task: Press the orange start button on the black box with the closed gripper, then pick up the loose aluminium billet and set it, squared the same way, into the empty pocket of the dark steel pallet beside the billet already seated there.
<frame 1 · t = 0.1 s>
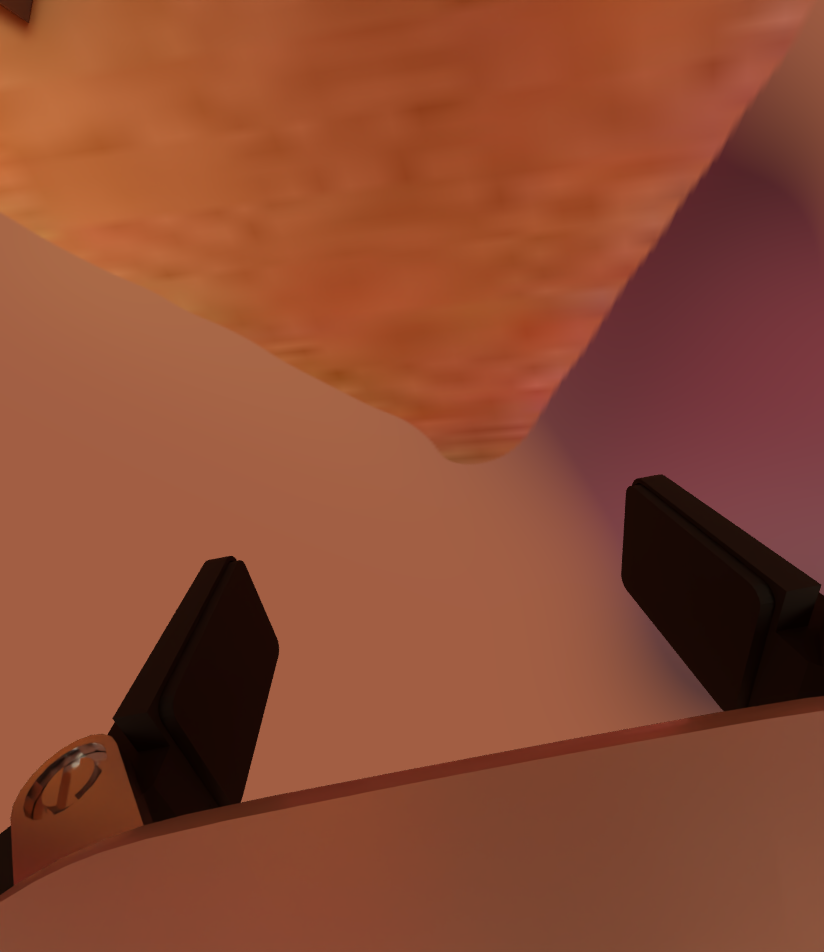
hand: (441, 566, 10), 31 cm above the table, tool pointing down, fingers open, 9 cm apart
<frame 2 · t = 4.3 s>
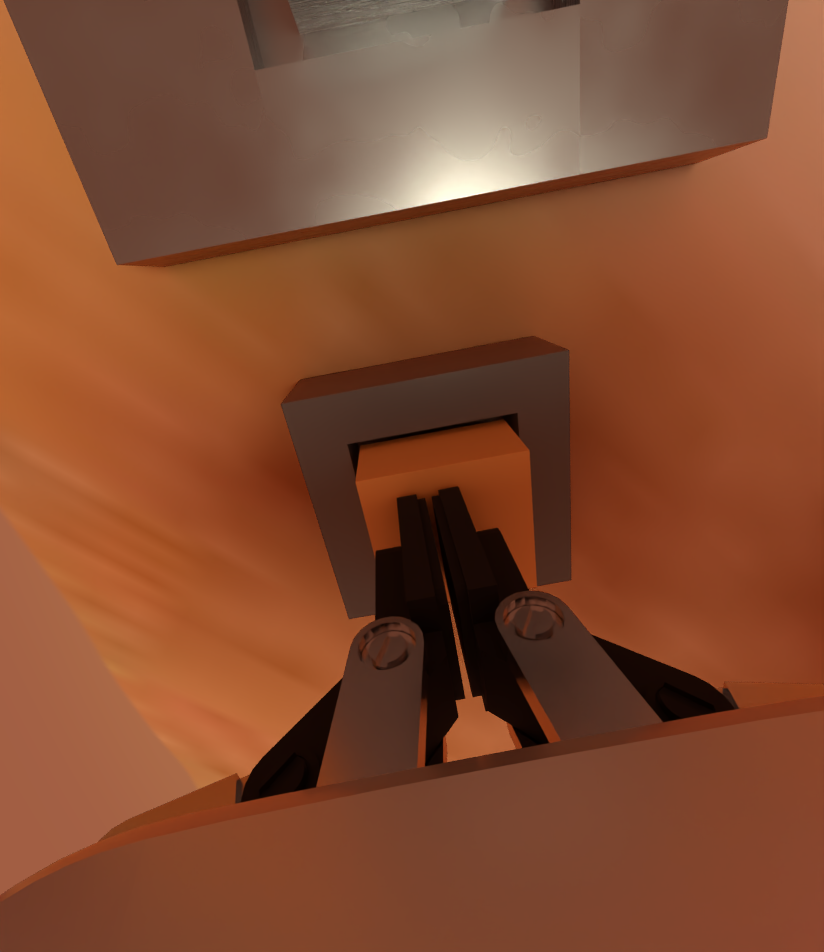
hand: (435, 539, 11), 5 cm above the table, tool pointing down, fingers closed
button housing: (433, 464, 16), on the table
start button: (447, 515, 13), point 4 cm above the table, slide at 0.0 cm, touching gripper
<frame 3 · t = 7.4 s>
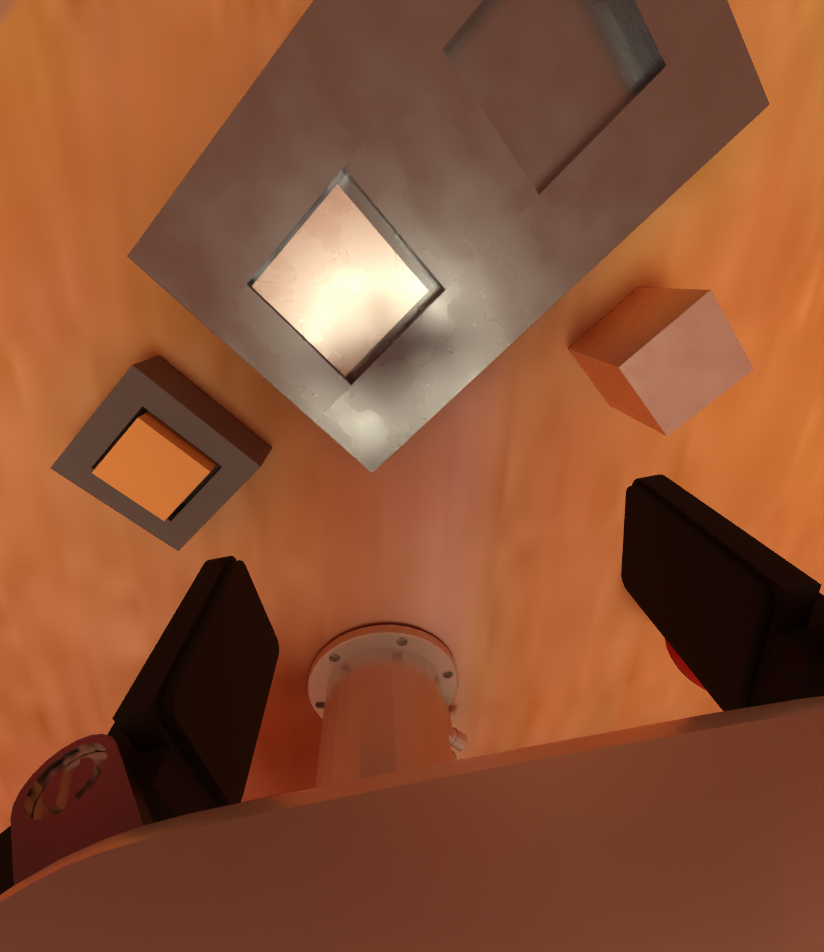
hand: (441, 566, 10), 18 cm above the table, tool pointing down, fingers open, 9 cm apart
button housing: (179, 448, 27), on the table
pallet: (437, 191, 22), on the table
billet: (622, 349, 26), on the table
light bulb: (668, 582, 35), on the table
seated billet: (349, 286, 23), point 1 cm above the table, touching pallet
start button: (162, 463, 24), point 2 cm above the table, slide at 1.3 cm
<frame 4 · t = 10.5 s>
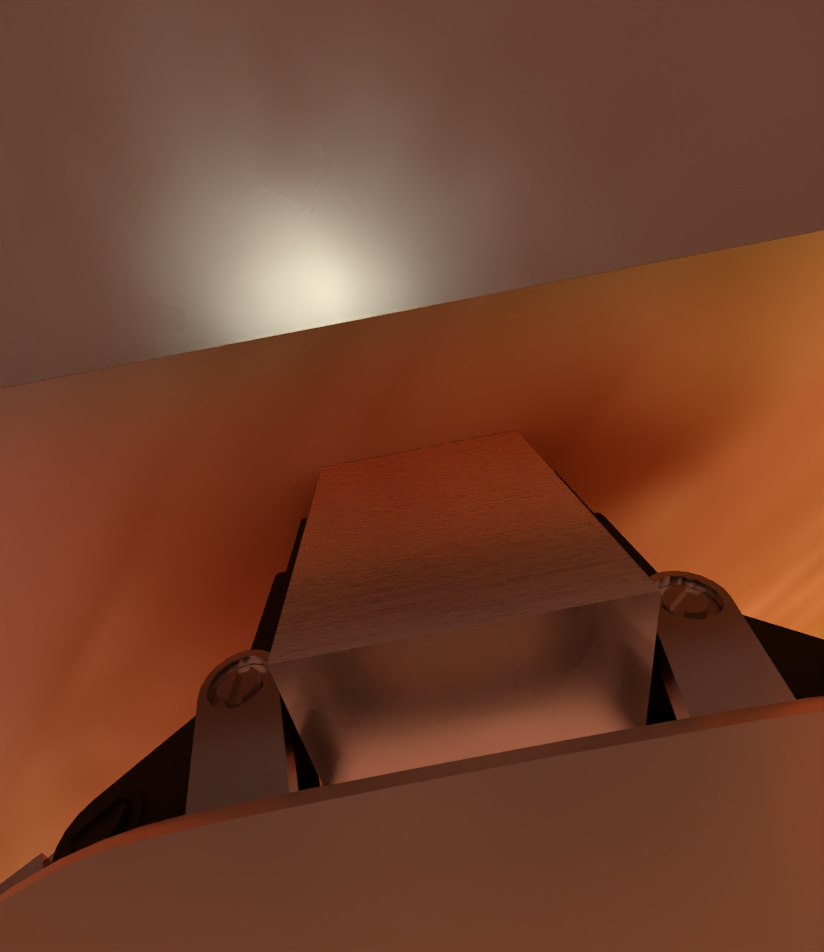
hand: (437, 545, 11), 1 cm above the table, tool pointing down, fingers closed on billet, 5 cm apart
billet: (433, 530, 12), on the table, touching gripper
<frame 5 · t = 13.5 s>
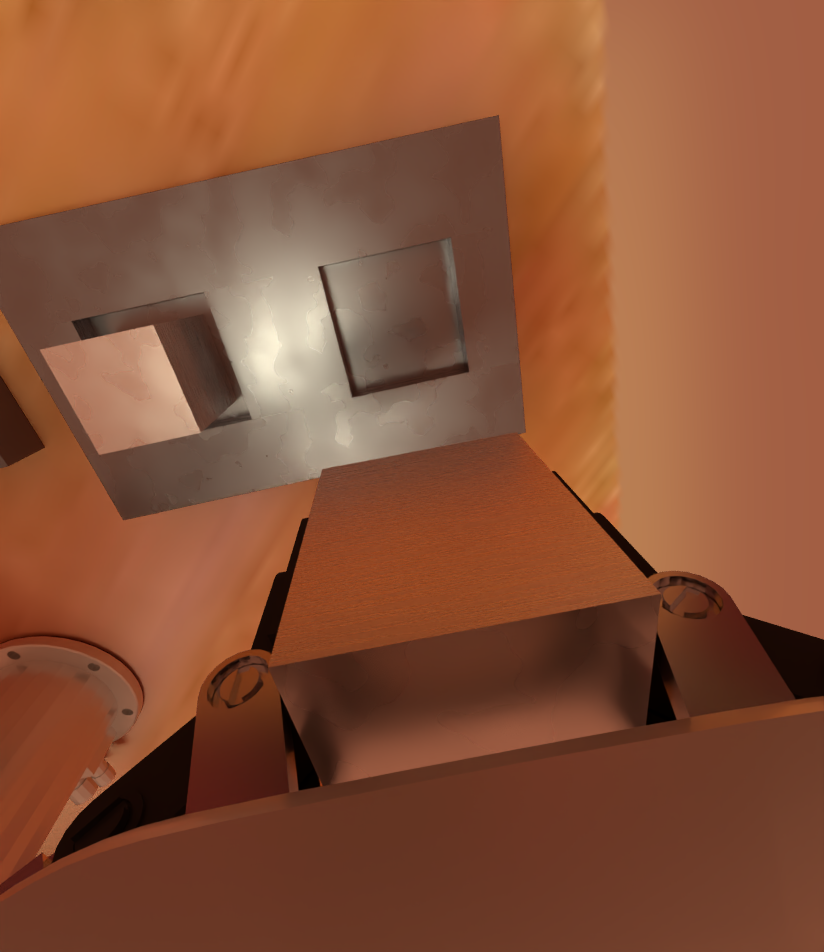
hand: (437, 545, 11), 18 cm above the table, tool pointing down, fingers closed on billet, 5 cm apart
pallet: (290, 342, 26), on the table
billet: (433, 532, 12), point 17 cm above the table, touching gripper
seated billet: (178, 368, 25), point 1 cm above the table, touching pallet
when the fingers open (4 cm above the table, at t = 16.9 s): billet drops 2 cm, resting on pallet.
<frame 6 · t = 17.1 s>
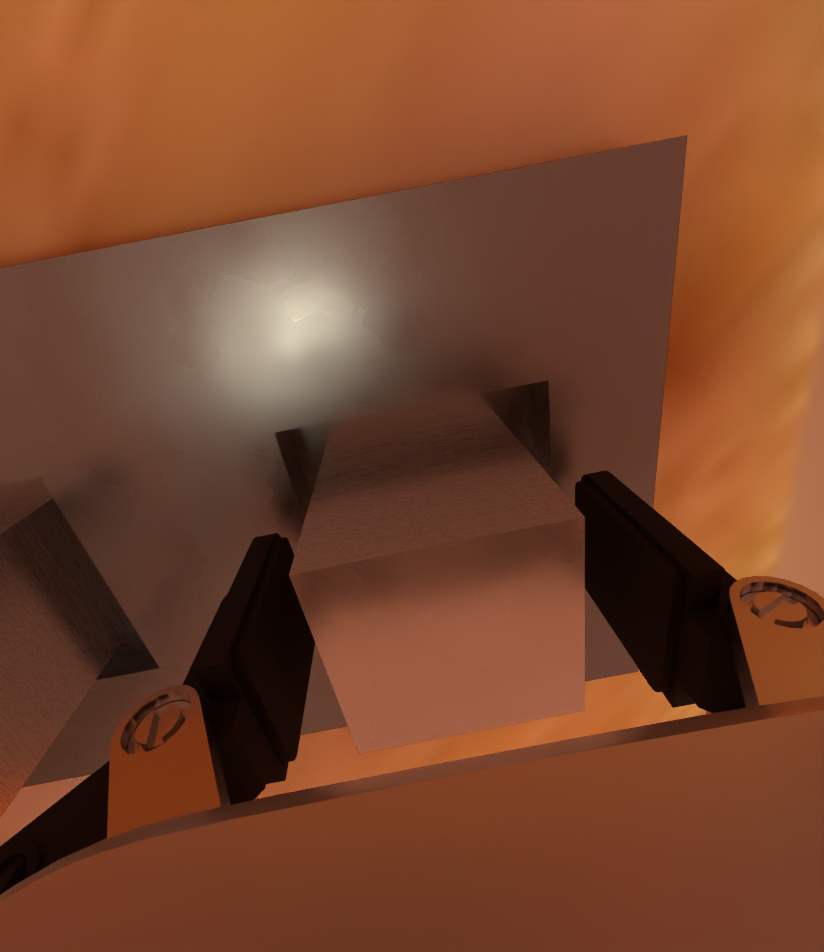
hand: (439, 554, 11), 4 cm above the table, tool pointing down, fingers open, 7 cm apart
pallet: (235, 519, 14), on the table
billet: (423, 500, 14), point 1 cm above the table, touching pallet
seated billet: (27, 574, 14), point 1 cm above the table, touching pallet
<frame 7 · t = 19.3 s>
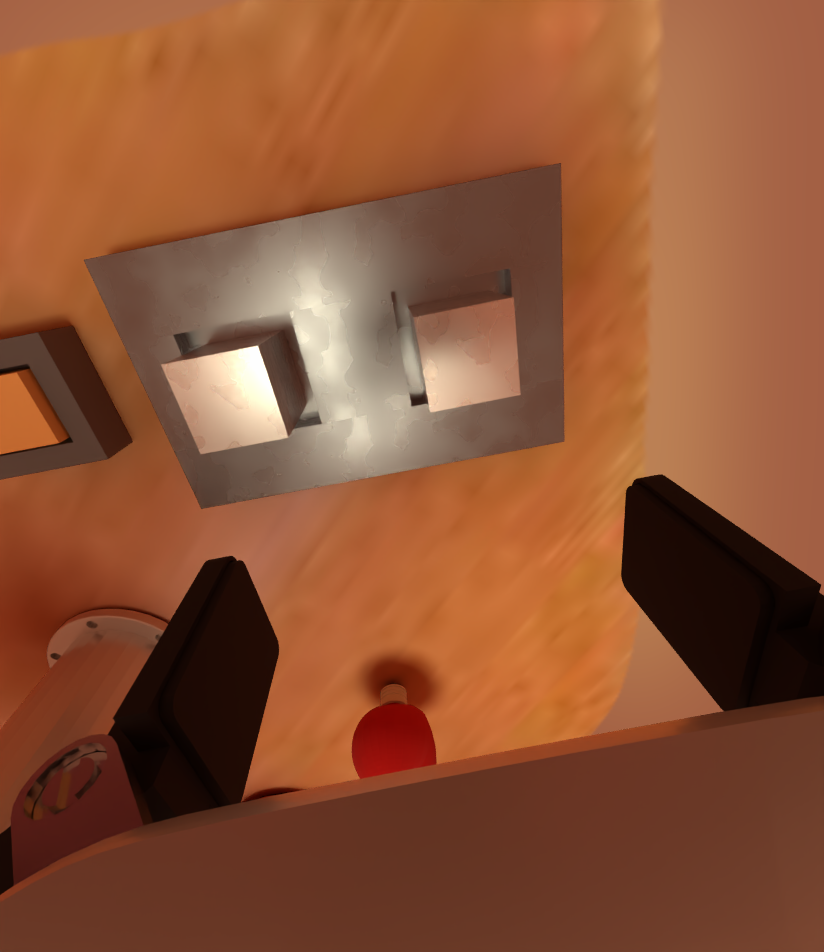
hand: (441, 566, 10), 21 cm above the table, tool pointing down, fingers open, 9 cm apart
button housing: (47, 398, 28), on the table
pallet: (356, 354, 28), on the table
billet: (452, 339, 27), point 1 cm above the table, touching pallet
light bulb: (393, 683, 43), on the table
seated billet: (258, 376, 28), point 1 cm above the table, touching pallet
start button: (19, 409, 26), point 2 cm above the table, slide at 1.3 cm
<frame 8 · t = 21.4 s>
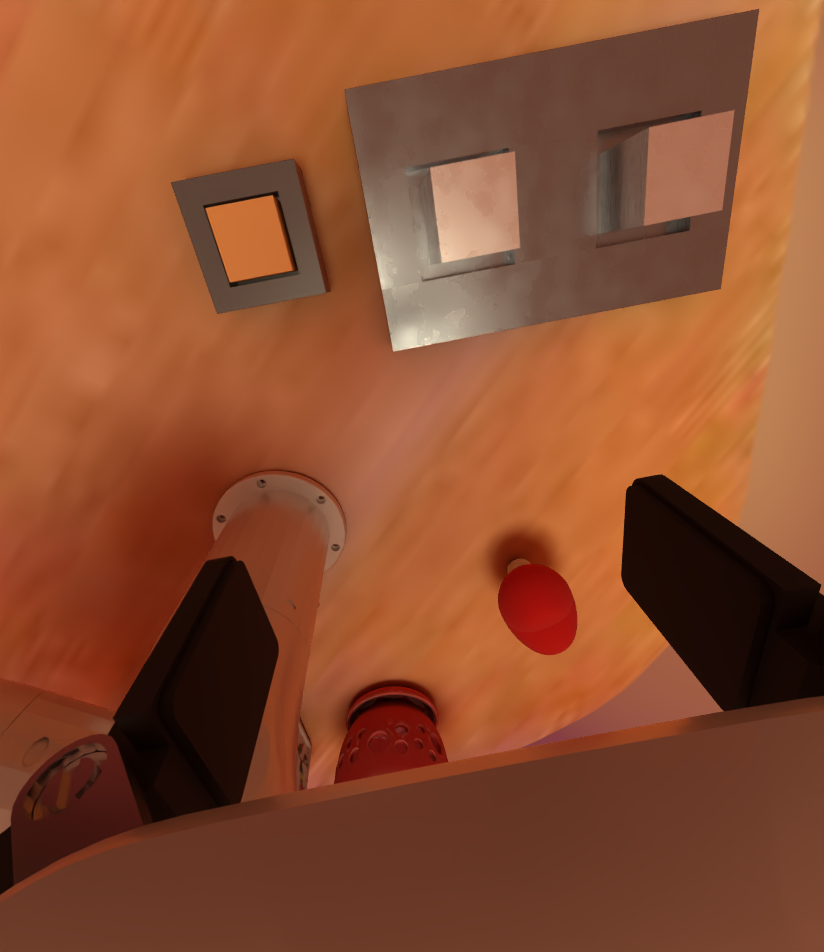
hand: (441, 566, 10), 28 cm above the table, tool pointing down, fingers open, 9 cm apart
decorative jar: (257, 724, 54), on the table
button housing: (263, 243, 31), on the table
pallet: (541, 205, 32), on the table
billet: (632, 188, 31), point 1 cm above the table, touching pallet
plant pot: (390, 709, 55), on the table
light bulb: (516, 562, 46), on the table
seated billet: (459, 220, 31), point 1 cm above the table, touching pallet
start button: (255, 241, 29), point 2 cm above the table, slide at 1.3 cm
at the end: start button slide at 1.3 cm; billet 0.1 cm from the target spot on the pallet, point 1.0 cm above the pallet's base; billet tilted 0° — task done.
